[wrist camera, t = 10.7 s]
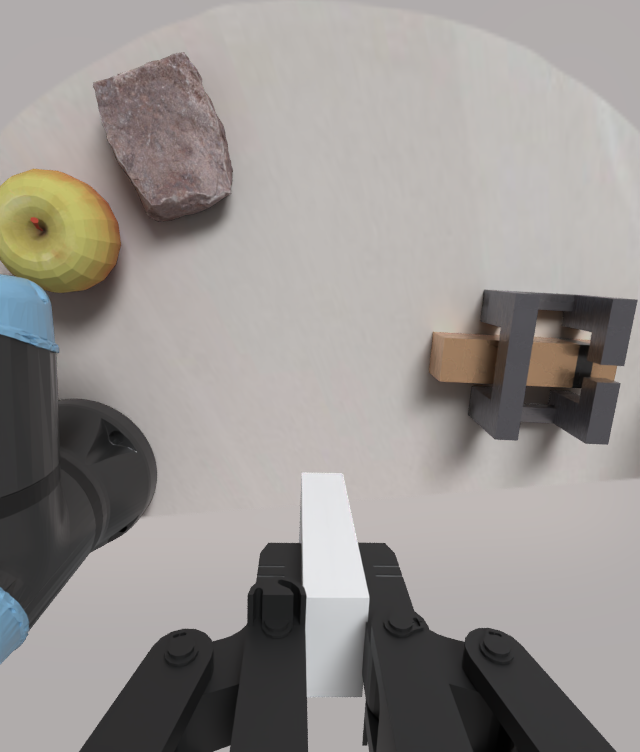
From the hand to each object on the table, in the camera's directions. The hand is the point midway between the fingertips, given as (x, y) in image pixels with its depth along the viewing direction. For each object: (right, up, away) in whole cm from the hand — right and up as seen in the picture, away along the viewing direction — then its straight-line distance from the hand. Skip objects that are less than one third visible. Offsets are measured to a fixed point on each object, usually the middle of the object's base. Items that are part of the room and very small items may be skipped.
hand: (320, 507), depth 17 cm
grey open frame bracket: (+20, +7, +29) cm, 36 cm away
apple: (-22, +18, +26) cm, 38 cm away
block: (+19, +7, +29) cm, 35 cm away
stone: (-13, +25, +24) cm, 37 cm away
